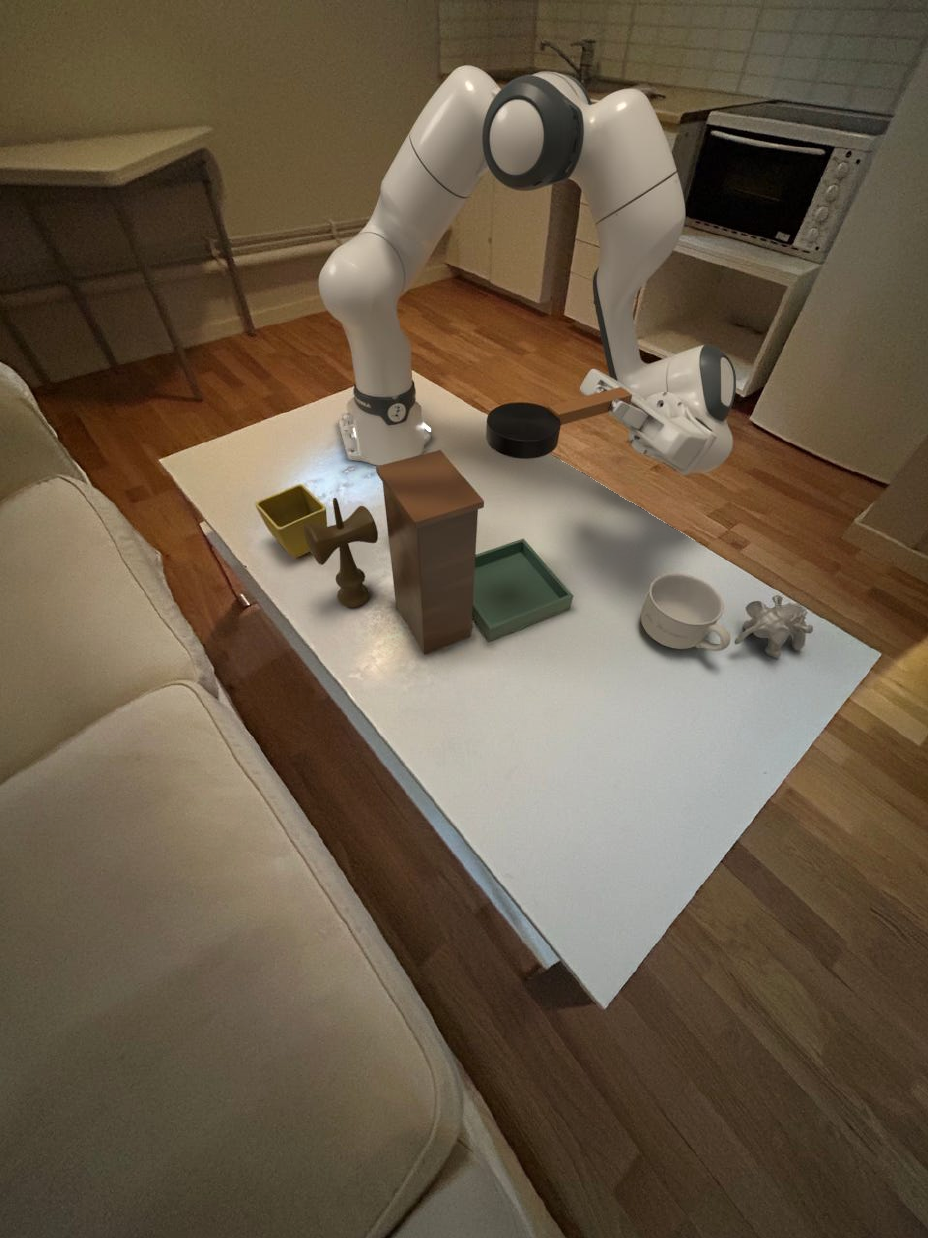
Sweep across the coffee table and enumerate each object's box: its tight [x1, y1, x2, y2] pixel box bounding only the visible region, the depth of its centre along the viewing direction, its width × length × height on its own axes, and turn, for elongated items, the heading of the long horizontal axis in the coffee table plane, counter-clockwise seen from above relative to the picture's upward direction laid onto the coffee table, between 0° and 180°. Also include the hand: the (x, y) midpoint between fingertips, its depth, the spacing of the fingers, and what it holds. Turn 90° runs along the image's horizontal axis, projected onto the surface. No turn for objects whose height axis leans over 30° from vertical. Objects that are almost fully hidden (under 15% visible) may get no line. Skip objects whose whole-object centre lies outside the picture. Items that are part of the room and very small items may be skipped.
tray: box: [472, 538, 574, 642], centre depth 89 cm, size 15×15×3 cm
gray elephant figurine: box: [733, 594, 814, 659], centre depth 81 cm, size 9×12×8 cm
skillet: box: [485, 387, 632, 460], centre depth 68 cm, size 9×20×3 cm, turn 117°
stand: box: [375, 449, 485, 655], centre depth 76 cm, size 12×9×26 cm
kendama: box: [303, 497, 379, 608], centre depth 81 cm, size 6×10×20 cm, turn 122°
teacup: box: [640, 572, 731, 652], centre depth 81 cm, size 14×11×8 cm
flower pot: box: [254, 483, 328, 559], centre depth 92 cm, size 9×9×9 cm
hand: (605, 398), depth 69 cm, fingers closed on skillet, 2 cm apart
